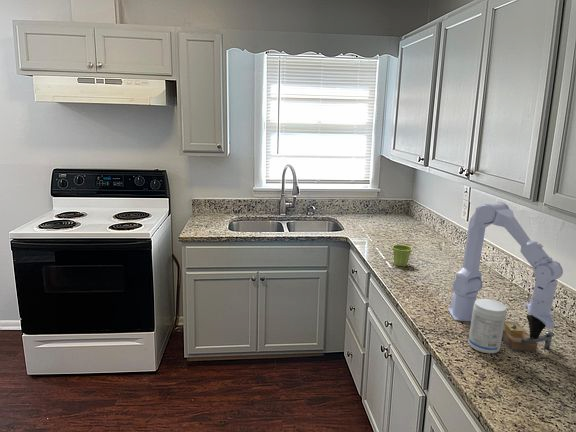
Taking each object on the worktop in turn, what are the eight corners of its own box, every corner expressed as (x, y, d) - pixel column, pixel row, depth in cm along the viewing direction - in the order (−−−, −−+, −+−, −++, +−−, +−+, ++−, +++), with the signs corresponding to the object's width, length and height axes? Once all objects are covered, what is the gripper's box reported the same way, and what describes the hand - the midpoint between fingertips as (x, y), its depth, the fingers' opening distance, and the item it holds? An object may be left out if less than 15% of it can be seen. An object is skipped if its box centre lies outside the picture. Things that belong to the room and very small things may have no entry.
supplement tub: (474, 336, 151) (481, 295, 148) (504, 347, 145) (511, 305, 142) (462, 346, 144) (469, 303, 141) (493, 358, 138) (501, 313, 135)
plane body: (493, 328, 158) (495, 320, 157) (515, 330, 158) (517, 322, 157) (511, 350, 144) (513, 341, 143) (535, 352, 143) (537, 343, 142)
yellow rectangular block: (503, 327, 152) (505, 321, 152) (515, 328, 152) (516, 322, 151) (509, 335, 147) (511, 328, 147) (521, 336, 147) (523, 329, 146)
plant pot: (402, 269, 214) (404, 251, 212) (386, 263, 220) (388, 246, 218) (414, 265, 220) (416, 248, 218) (397, 260, 226) (399, 243, 224)
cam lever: (517, 351, 143) (520, 335, 142) (546, 346, 148) (549, 330, 146) (524, 354, 141) (527, 338, 140) (552, 349, 145) (555, 334, 144)
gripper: (568, 310, 134) (558, 351, 137) (543, 290, 148) (535, 328, 151) (543, 308, 134) (535, 349, 137) (522, 289, 148) (514, 326, 152)
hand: (533, 338), depth 144 cm, fingers closed, pressing on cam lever
